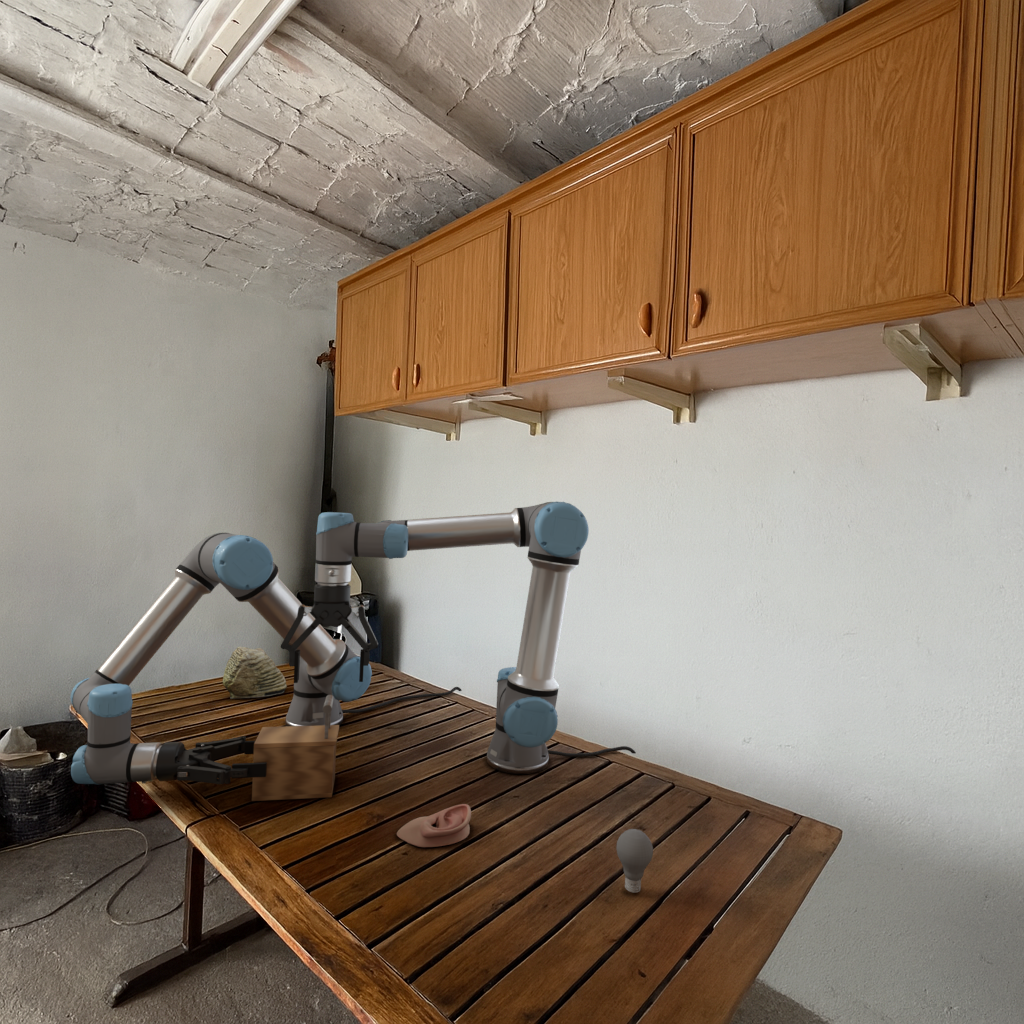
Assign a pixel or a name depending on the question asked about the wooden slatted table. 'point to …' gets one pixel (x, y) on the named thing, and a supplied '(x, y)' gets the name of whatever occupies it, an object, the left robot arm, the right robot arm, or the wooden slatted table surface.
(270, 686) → the fossil
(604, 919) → the wooden slatted table surface
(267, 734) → the lid
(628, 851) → the light bulb
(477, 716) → the wooden slatted table surface
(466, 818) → the anatomical model
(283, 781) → the chest
